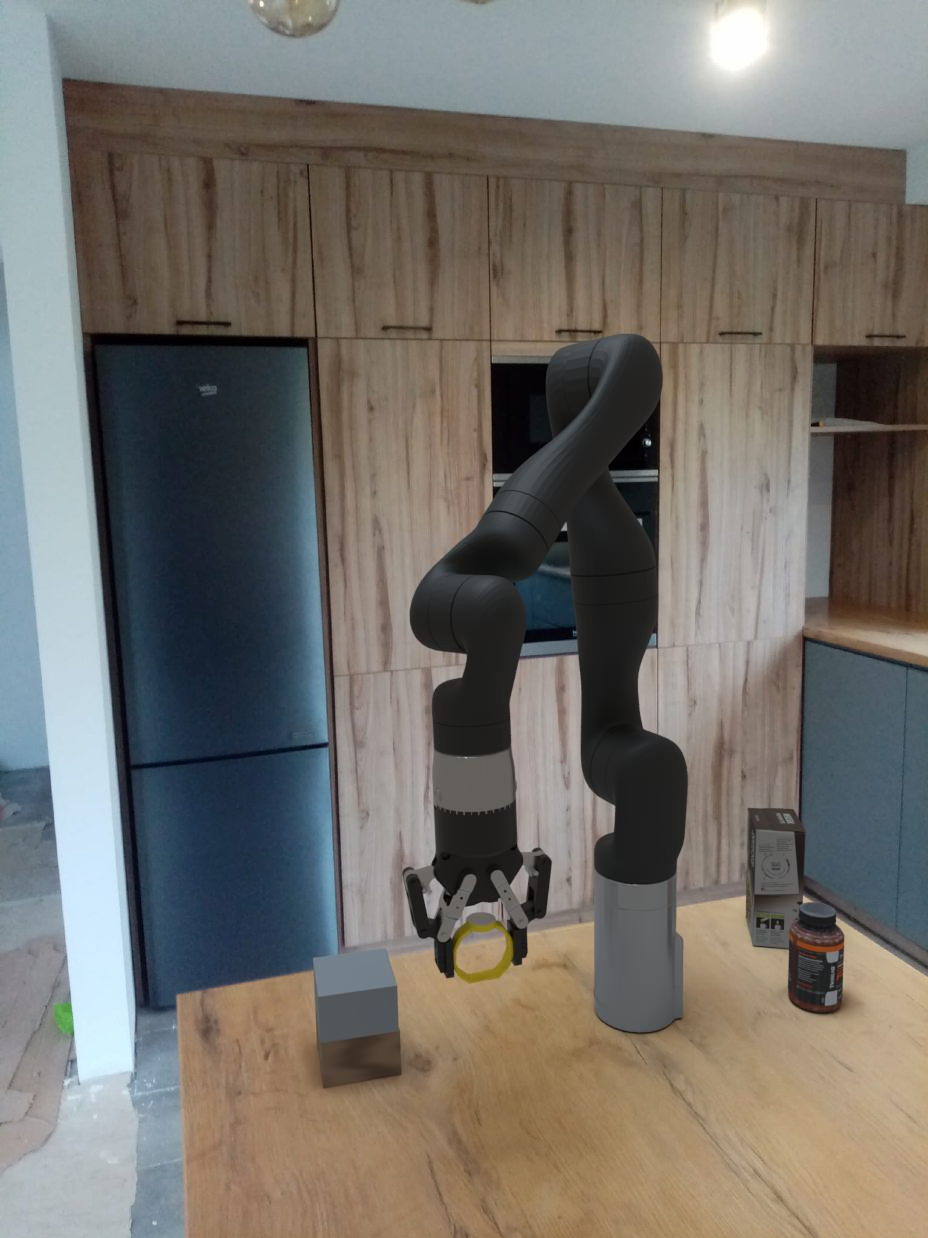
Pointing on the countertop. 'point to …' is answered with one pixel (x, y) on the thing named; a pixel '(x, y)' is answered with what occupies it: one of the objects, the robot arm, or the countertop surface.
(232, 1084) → the countertop surface
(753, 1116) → the countertop surface
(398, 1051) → the walnut block
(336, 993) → the grey block
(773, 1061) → the countertop surface
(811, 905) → the supplement bottle
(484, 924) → the watch
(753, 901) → the coffee box
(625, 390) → the robot arm
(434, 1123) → the countertop surface
